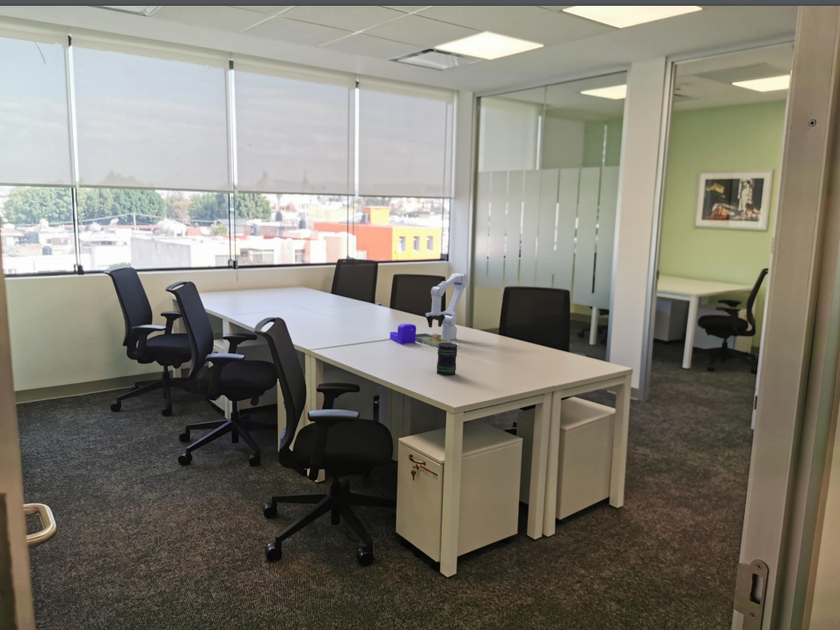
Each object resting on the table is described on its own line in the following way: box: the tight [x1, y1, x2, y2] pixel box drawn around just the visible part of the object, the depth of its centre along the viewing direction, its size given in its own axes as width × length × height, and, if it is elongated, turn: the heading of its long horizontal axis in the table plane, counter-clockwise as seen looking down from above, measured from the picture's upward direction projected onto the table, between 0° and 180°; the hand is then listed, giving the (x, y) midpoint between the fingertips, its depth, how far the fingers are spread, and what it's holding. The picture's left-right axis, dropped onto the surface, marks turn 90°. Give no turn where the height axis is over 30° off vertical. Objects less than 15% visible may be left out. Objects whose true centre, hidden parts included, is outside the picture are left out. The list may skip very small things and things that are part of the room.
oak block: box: [431, 333, 442, 343], centre depth 391 cm, size 4×4×5 cm
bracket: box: [389, 323, 417, 345], centre depth 393 cm, size 18×11×12 cm, turn 39°
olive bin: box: [421, 338, 453, 348], centre depth 391 cm, size 14×13×2 cm
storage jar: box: [436, 342, 458, 377], centre depth 318 cm, size 10×10×15 cm
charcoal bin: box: [415, 332, 432, 343], centre depth 402 cm, size 14×13×2 cm
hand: (434, 327), depth 397 cm, fingers open, 7 cm apart
